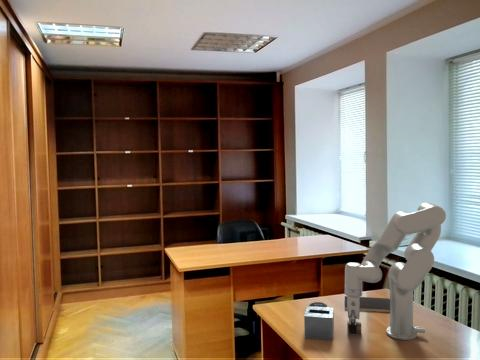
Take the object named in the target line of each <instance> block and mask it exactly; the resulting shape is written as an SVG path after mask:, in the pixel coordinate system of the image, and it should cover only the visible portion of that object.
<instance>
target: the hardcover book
mask: <svg viewBox="0 0 480 360" xmlns="http://www.w3.org/2000/svg"><path fill="white" fill-rule="evenodd" d="M344 310H346V311H347V295H345V296H344ZM361 311H363V312H364V311H365V312H366V311H367V312H377V313H379V312H381V313H390V297H388V298H387V297H369V296H361V297H360V312H361Z"/></svg>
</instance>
